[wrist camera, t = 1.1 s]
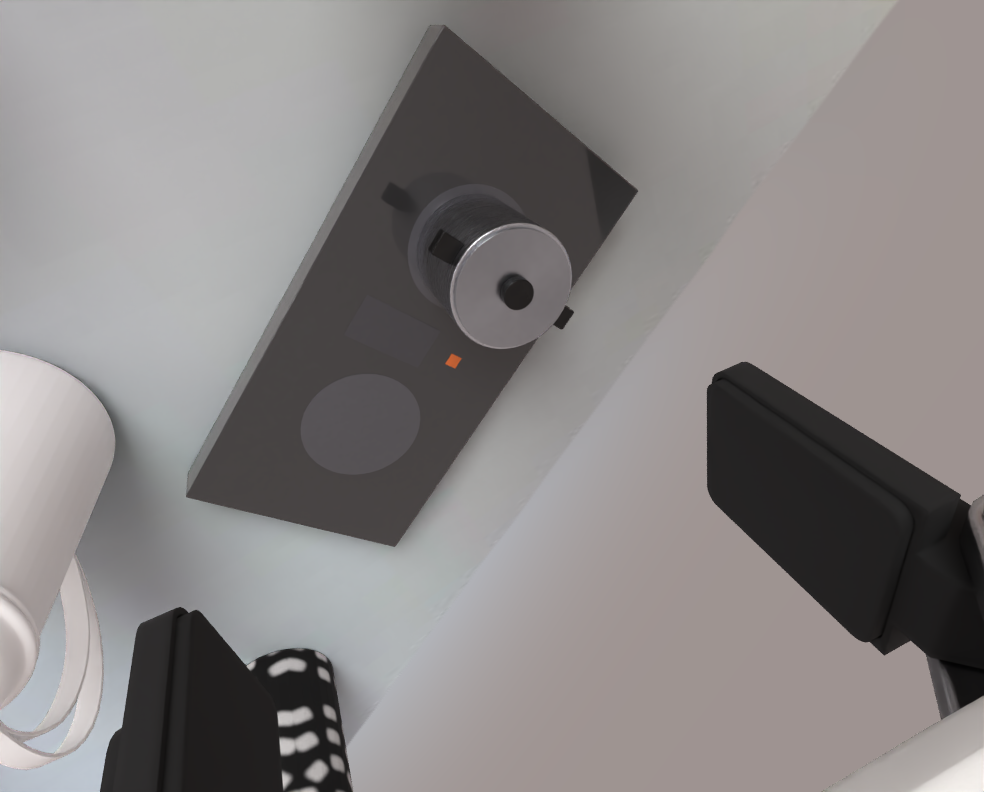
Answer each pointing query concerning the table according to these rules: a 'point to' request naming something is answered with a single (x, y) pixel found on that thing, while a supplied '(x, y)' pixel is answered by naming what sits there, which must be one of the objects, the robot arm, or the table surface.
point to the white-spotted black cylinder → (306, 720)
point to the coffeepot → (48, 542)
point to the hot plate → (397, 308)
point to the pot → (495, 271)
